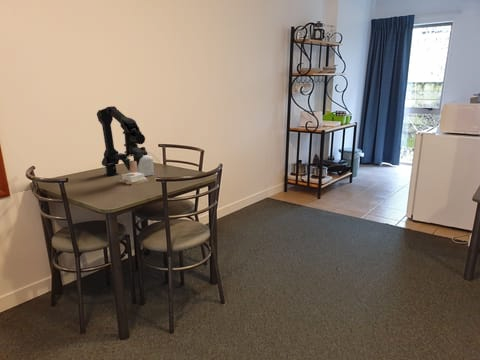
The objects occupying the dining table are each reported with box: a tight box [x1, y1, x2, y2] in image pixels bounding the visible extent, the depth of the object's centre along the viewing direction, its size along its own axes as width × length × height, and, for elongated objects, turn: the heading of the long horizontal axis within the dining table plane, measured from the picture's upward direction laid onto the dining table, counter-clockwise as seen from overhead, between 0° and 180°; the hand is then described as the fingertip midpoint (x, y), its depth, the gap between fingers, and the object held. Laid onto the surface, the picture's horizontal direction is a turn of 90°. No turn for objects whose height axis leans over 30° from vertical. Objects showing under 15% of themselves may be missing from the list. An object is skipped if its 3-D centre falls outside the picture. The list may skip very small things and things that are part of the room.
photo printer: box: [137, 155, 155, 177], centre depth 220 cm, size 10×4×12 cm, turn 123°
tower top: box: [121, 172, 146, 182], centre depth 208 cm, size 9×9×2 cm
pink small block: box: [127, 160, 137, 173], centre depth 206 cm, size 5×5×6 cm
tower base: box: [119, 177, 149, 186], centre depth 209 cm, size 11×11×2 cm
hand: (132, 169), depth 207 cm, fingers open, 5 cm apart
